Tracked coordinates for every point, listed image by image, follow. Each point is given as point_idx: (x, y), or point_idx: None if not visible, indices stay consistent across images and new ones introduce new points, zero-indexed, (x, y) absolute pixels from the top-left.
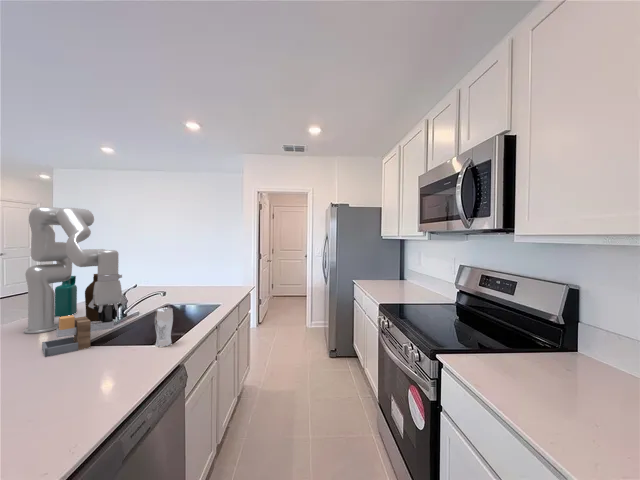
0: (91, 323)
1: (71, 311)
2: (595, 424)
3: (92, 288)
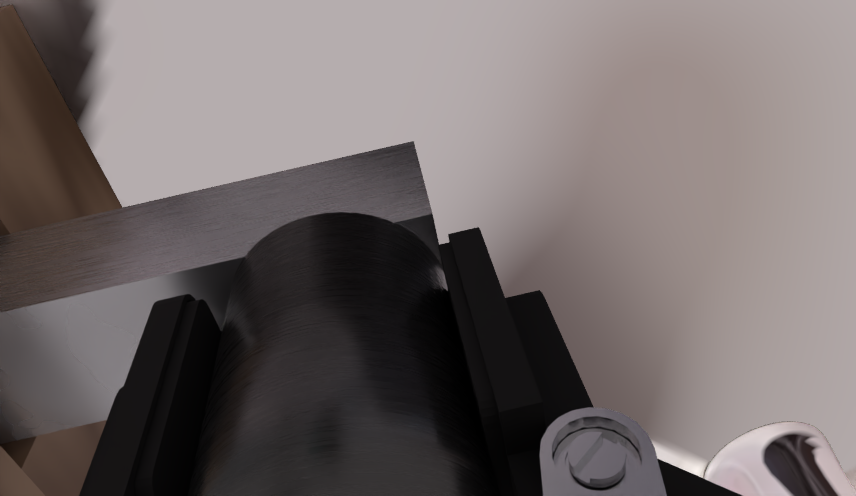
0: (21, 342)
1: None
2: None
3: None
